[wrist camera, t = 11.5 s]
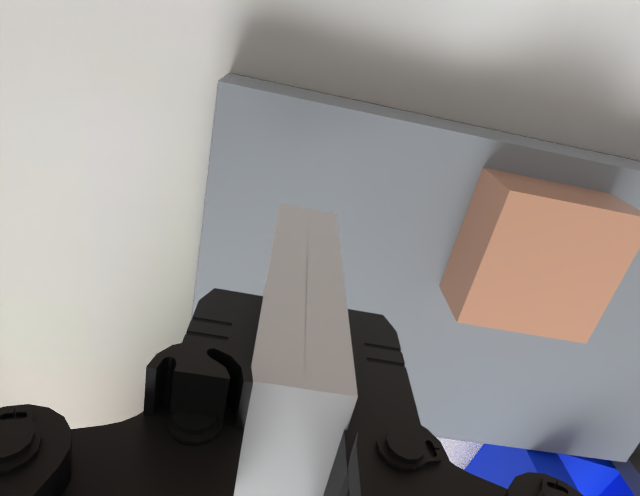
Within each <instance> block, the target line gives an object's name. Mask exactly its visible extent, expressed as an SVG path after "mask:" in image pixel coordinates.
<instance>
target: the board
mask: <svg viewBox="0 0 640 496" xmlns="http://www.w3.org/2000/svg"><path fill="white" fill-rule="evenodd" d="M483 167H484V168H489V169H494V170H499V171H504V172H509V173H514V174H519V175H524V176H528V177H533V178H538V179H543V180H548V181H553V182H558V183H563V184H567V185H572V186H577V187H582V188H587V189H592V190H597V191H602V192H606V193H611V194H612V195H614V196H616V197H618V198H619V199H621V200H623V201H625V202H626V203H628V204H630V205H631V206H633V207H635V208H637V209H638V210H640V161H636V160H632V159H627V158H622V157H618V156H613V155H608V154H604V153H599V152H594V151H590V150H585V149H580V148H576V147H571V146H567V145H562V144H557V143H553V142H548V141H543V140H539V139H534V138H529V137H525V136H520V135H515V134H511V133H506V132H501V131H497V130H492V129H488V128H483V127H478V126H474V125H469V124H464V123H460V122H455V121H450V120H446V119H441V118H436V117H432V116H427V115H422V114H418V113H413V112H409V111H404V110H399V109H395V108H390V107H385V106H381V105H376V104H371V103H367V102H362V101H357V100H353V99H348V98H343V97H339V96H334V95H330V94H325V93H320V92H316V91H311V90H306V89H302V88H297V87H292V86H288V85H283V84H278V83H274V82H269V81H264V80H260V79H255V78H251V77H246V76H241V75H237V74H232V73H228V74H227V75H226V76H224V77H223V78H222V79H220V80H219V81H218V87H217V96H216V105H215V114H214V122H213V131H212V140H211V149H210V158H209V167H208V176H207V185H206V194H205V203H204V212H203V221H202V230H201V239H200V248H199V257H198V266H197V275H196V284H195V293H194V301H193V310H192V317H193V314H194V311H195V309H196V306H197V304H198V301H199V300H200V299H201V298H202V297H204V296H205V295H206V294H208V293H209V292H210V291H211V290H213V289H214V288H218V289H224V290H230V291H235V292H241V293H247V294H253V295H259V296H263V291H264V286H265V280H266V275H267V270H268V264H269V259H270V253H271V248H272V242H273V237H274V232H275V226H276V221H277V215H278V210H279V204H280V203H281V204H286V205H291V206H296V207H302V208H307V209H312V210H317V211H323V212H328V213H333V214H337V223H338V231H339V240H340V248H341V257H342V266H343V274H344V283H345V291H346V300H347V308H348V309H352V310H358V311H363V312H369V313H375V314H381V315H384V316H385V318H386V319H387V320H388V321H389V323H390V324H391V325H392V326H393V328H394V329H395V330H396V331H397V335H398V339H399V342H400V346H401V352H402V354H403V358H404V361H405V367H406V369H407V373H408V377H409V381H410V384H411V388H412V392H413V396H414V400H415V403H416V407H417V411H418V415H419V419H420V423H421V425H422V426H423V427H425V428H427V429H428V430H429V431H430V432H431V433H432V434H433V435H434V436H435V437H439V438H447V439H454V440H462V441H469V442H477V443H484V444H492V445H499V446H507V447H514V448H522V449H529V450H537V451H544V452H552V453H559V454H567V455H574V456H582V457H589V458H597V459H604V460H611V461H619V462H627V460H628V459H629V457H630V456H631V454H632V453H633V451H634V450H635V449H636V447H637V446H638V444H639V443H640V248H639V250H638V252H637V253H636V255H635V257H634V259H633V261H632V262H631V264H630V266H629V268H628V270H627V271H626V273H625V275H624V277H623V279H622V280H621V282H620V284H619V286H618V288H617V289H616V291H615V293H614V295H613V297H612V298H611V300H610V302H609V304H608V306H607V307H606V309H605V311H604V313H603V315H602V316H601V318H600V320H599V322H598V324H597V325H596V327H595V329H594V331H593V333H592V334H591V336H590V338H589V340H588V342H587V343H586V344H585V343H579V342H573V341H567V340H560V339H554V338H548V337H542V336H536V335H530V334H524V333H518V332H512V331H505V330H499V329H493V328H487V327H481V326H475V325H469V324H463V323H457V322H456V320H455V318H454V316H453V314H452V312H451V310H450V308H449V306H448V304H447V302H446V300H445V298H444V296H443V294H442V291H441V289H440V287H439V285H440V282H441V280H442V277H443V274H444V271H445V269H446V266H447V263H448V260H449V258H450V255H451V252H452V250H453V247H454V244H455V241H456V239H457V236H458V233H459V231H460V228H461V225H462V222H463V220H464V217H465V214H466V211H467V209H468V206H469V203H470V201H471V198H472V195H473V192H474V190H475V187H476V184H477V182H478V179H479V176H480V173H481V171H482V168H483ZM191 320H192V319H191Z"/></svg>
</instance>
